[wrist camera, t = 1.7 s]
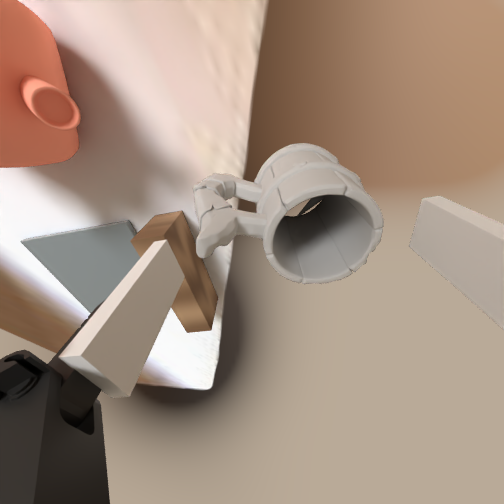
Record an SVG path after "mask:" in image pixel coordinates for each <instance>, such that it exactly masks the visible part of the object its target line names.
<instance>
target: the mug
mask: <svg viewBox="0 0 504 504" xmlns="http://www.w3.org/2000/svg"><path fill="white" fill-rule="evenodd" d="M193 192H194V201H195V209H196V215H197V218H198V222H199V231H200V233H199V235H198V237H197V239H196V253H197V255H198V256H199V257H200V258H206V257H208V256H210V255H212V254H213V251H214V250H215V248H216V247H218V246H226V245H228V244H229V243H230V242H231V240H232V239H233V238H234V237H235V235H245V236H249V237H255V238H261V239H262V240H263V246H264V251H265V253H266V258H267V259H268V260H269V261H270V264H271V266H272V267H273V268H274V269H275V270H276V271H277V272H278V273H279V274H280V275H281V276H283V277H285V278H287V279H288V280H291V281H294V282H297V283H301V282H302V283H303V284H311V283H319V284H321V283H329V282H332V281H336V280H341V279H343V278H345V277H348V276H349V275H351V274H352V271H354V272H356V271H357V270H358V269H359V268H360V267H361V266H362V265H364V264H365V263H366V261H367V257H368V255H369V253H370V252H373V251H374V250H375V248H376V246H377V245H378V244H379V242H380V240H381V236H382V230H383V229H382V227H383V226H384V221H383V216H382V213H381V210H380V208H379V206H378V205H377V203H376V202H375V200H374V199H373V198H372V197H371V196H370V195H369V194H368V193H367V192H365V190H364V187H363V184H362V183H361V179H360V178H359V177H358V176H357V175H356V174H355V173H354V172H351V171H350V170H348V169H346V168H345V167H343V166H341V165H340V164H339V161H338V159H337V158H336V157H335V156H333V155H332V154H331V153H330V152H328V151H327V150H325V149H324V148H322V147H318V146H317V145H312V144H307V143H300V144H291V145H288V146H287V147H284V148H282V149H280V150H278V151H277V152H276V153H274V154H273V155H272V156H271V157H270V158H269V159H268V160H267V161H266V162H265V163H264V164H263V166H262V167H261V169H260V171H259V173H258V175H257V178H256V179H255V182H254V183H253V182H249V181H245V180H242V179H239V178H237V177H235V176H233V175H230V174H219V173H214V174H212V175H210V176H209V177H207V178H206V179H204V180H202V182H199V183H198V184H196V185H195V186H194V187H193ZM232 197H237V198H240V199H244V200H247V201H250V202H254V203H255V205H256V208H257V209H256V211H257V213H251V212H246V211H241V210H236V209H233V208H232V206H231V205H230V204H228V203H227V202H226V200H228V199H231V198H232ZM308 199H310V201H309V202H308V203H307V204H306V205H305V207H304V208H303V209H302V211H301V212H300V213H299V214H298V215H297V216H294V217H290V216H285V214H286V213H287V211H288V210H291V209H292V208H294V207H295V206H297V205H298V204H300V203H302V202H304V201H306V200H308ZM321 200H322V201H321ZM320 201H321V202H320ZM318 202H320V203H319V204H318V205H317V206H316V207H315V208H314V209H313V210H311V211H310V212H308V213H306V214H303V213H305V211H307V210H309V209H310V208H312V207H313V206H314V205H316V204H317V203H318ZM302 214H303V215H302ZM351 270H352V271H351Z"/></svg>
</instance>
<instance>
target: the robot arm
mask: <svg viewBox="0 0 504 504" xmlns="http://www.w3.org/2000/svg"><path fill="white" fill-rule="evenodd" d="M409 247H410V248H411V249H412V250H413V251H415V252H416V253H417V254H418V255H419V256H420V257H421V258H422V259H424V260H425V261H426V262H427V263H428V264H429V265H430V266H432V267H433V268H434V269H435V270H436V271H437V272H438V273H440V274H441V275H442V276H443V277H444V278H445V279H446V280H447V281H449V282H450V283H451V284H452V285H453V286H454V287H456V288H457V289H458V290H459V291H460V292H461V293H462V294H463V295H465V296H466V297H467V298H468V299H469V300H470V301H471V302H472V303H474V304H475V305H476V306H477V307H478V308H479V309H480V310H482V311H483V312H484V313H485V314H486V315H487V316H488V317H489V318H491V319H492V320H493V321H494V322H495V323H496V324H497V325H499V326H500V327H501V328H502V329H503V330H504V224H502V223H500V222H498V221H496V220H493V219H491V218H489V217H487V216H484V215H482V214H480V213H478V212H475V211H473V210H471V209H469V208H467V207H464V206H462V205H460V204H458V203H455V202H453V201H451V200H449V199H446V198H444V197H442V196H434V197H428V198H423V199H422V201H421V205H420V208H419V212H418V216H417V219H416V223H415V226H414V230H413V234H412V238H411V241H410V245H409ZM184 277H185V276H184V274H183V272H182V270H181V268H180V266H179V264H178V262H177V259H176V257H175V255H174V253H173V251H172V249H171V247H170V245H169V243H168V241H167V240H161V241H155V242H153V244H152V245H151V246H150V247H149V248H148V250H147V251H146V252H145V253H144V254H143V256H142V257H141V258H140V259H139V261H138V262H137V263H136V264H135V265H134V267H133V268H132V269H131V270H130V271H129V273H128V274H127V275H126V276H125V277H124V279H123V280H122V281H121V282H120V283H119V285H118V286H117V287H116V288H115V289H114V291H113V292H112V293H111V294H110V295H109V297H108V298H107V299H105V300H104V301H103V302H102V303H100V304H99V305H98V306H97V307H96V308H95V309H94V310H93V312H92V313H91V314H90V315H89V316H88V319H86V320H85V321H84V322H83V323H82V324H81V327H80V328H78V329H77V330H76V332H75V333H74V334H73V335H72V336H71V337H70V339H69V340H68V341H67V342H66V343H65V345H64V346H63V347H62V348H61V349H60V350H59V352H58V353H57V354H56V355H55V356H54V357H53V359H52V360H51V361H50V362H49V363H48V364H46V363H45V362H43V361H42V360H40V359H39V358H38V357H36V356H35V355H34V354H32V353H31V352H29V351H26V350H21V351H16V352H14V353H12V354H9V355H7V356H5V357H4V358H2V359H0V504H110V500H109V488H108V477H107V467H106V456H105V446H104V434H103V423H102V412H101V404H100V402H99V401H98V400H97V397H98V395H99V393H100V392H101V390H102V391H103V392H104V393H106V394H107V395H108V396H109V397H111V398H113V397H129V396H130V395H131V392H132V390H133V388H134V386H135V384H136V382H137V379H138V377H139V375H140V373H141V371H142V369H143V366H144V364H145V362H146V360H147V358H148V356H149V353H150V351H151V349H152V347H153V345H154V343H155V340H156V338H157V336H158V334H159V332H160V330H161V327H162V325H163V323H164V321H165V319H166V317H167V314H168V312H169V310H170V308H171V306H172V304H173V301H174V299H175V297H176V295H177V293H178V290H179V288H180V286H181V284H182V282H183V280H184Z"/></svg>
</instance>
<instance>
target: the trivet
mask: <svg viewBox="0 0 504 504" xmlns="http://www.w3.org/2000/svg"><path fill="white" fill-rule="evenodd" d="M136 234H137V233H136V232H135V230H134V228H133V227H132V225H131V223H130V222H129V220H128V221H122V222H117V223H111V224H105V225H100V226H94V227H89V228H83V229H78V230H72V231H67V232H61V233H55V234H50V235H44V236H39V237H33V238H28V239H24V240H23V241H21V243H22V244H23V245H24V246H25V247H26V248H27V249H28V250H29V251H30V252H31V253H32V254H33V255H34V256H35V257H36V258H37V259H38V260H39V261H40V262H41V263H42V264H43V265H44V266H45V267H46V268H47V269H48V270H49V271H50V272H51V273H52V274H53V275H54V276H55V277H56V278H57V279H58V280H59V282H60V283H61V284H62V285H63V286H64V287H65V288H66V289H67V290H68V291H69V292H70V293H71V294H72V295H73V296H74V297H75V298H76V299H77V300H78V301H79V302H80V303H81V304H82V305H83V306H84V307H85V308H86V309H87V310H88V311H89V312H90V313H92V312H93V310H94V309H95V308H96V307H97V306H98V305H99V304H100V303H102V302H103V301H104V300H105V299H107V298H108V297H109V295H110V294H111V293H112V292H113V291H114V289H115V288H116V287H117V286H118V285H119V283H120V282H121V281H122V280H123V279H124V277H125V276H126V275H127V274H128V273H129V271H130V270H131V269H132V268H133V267H134V265H135V264H136V263H137V262H138V261H139V259H140V256H139V255H138V253H137V251H136V250H135V248H134V247H133V245H132V243H131V242H130V240H131V239H132V238H133V237H134V236H135V235H136Z"/></svg>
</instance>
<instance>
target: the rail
mask: <svg viewBox="0 0 504 504" xmlns="http://www.w3.org/2000/svg"><path fill="white" fill-rule="evenodd" d="M161 240H167V241H168V243H169V245H170V247H171V249H172V251H173V253H174V255H175V257H176V259H177V262H178V264H179V266H180V268H181V270H182V272H183V274H184V276H185V277H184V280H183V282H182V284H181V286H180V288H179V290H178V293H177V295H176V297H175V299H174V301H173V304H172V306H171V308H172V309H173V311H174V312H175V314H176V316H177V317H178V319H179V320H180V322H181V324H182V325H183V327H184V328H185V330H186V332H187V333H189V332H200V331H210V330H211V329H212V325H213V320H214V315H215V311H216V306H217V301H218V296H217V294H216V292H215V289H214V287H213V284H212V282H211V280H210V277H209V275H208V272H207V270H206V267H205V265H204V263H203V260H202V258H200V257H199V256H198V255H197V253H196V243H195V241H194V238H193V236H192V234H191V231H190V229H189V226H188V224H187V221H186V219H185V217H184V214H183V212H182V211H178V212H172V213H167V214H161V215H155V216H154V217H153V218H152V219H151V220H150V221H149V222H148V223H147V224H146V225H145V226H144V227H143V228H142V229H141V230H140V231H139V232H138V233H137V234H136V235H135V236H134V237H133V238H132V239H131V240H130V242H131V243H132V245H133V247H134V248H135V250H136V251H137V253H138V255H139V256H140V258H141V257H142V256H143V254H144V253H145V252H146V251H147V250H148V248H149V247H150V246H151V245H152V244H153V242H155V241H161Z"/></svg>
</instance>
